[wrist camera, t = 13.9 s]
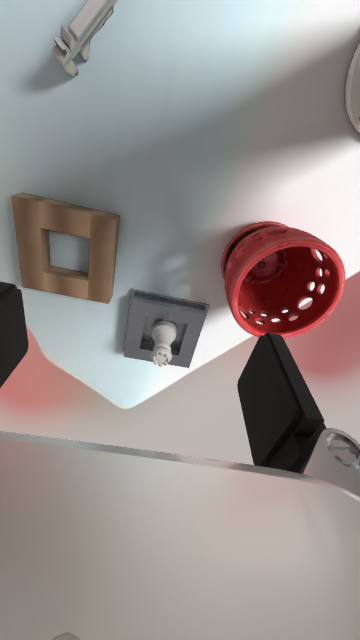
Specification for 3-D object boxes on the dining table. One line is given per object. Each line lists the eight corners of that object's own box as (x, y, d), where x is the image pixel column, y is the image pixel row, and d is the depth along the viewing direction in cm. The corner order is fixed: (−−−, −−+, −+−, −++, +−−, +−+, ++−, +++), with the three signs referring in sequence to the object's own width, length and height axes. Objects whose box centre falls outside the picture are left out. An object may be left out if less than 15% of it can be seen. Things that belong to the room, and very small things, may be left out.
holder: (209, 304, 45) (210, 312, 42) (190, 360, 52) (190, 370, 50) (131, 289, 43) (129, 296, 41) (123, 349, 50) (121, 358, 48)
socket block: (119, 215, 37) (115, 219, 35) (112, 296, 44) (108, 303, 42) (21, 192, 35) (11, 195, 33) (30, 280, 42) (22, 287, 40)
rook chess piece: (156, 315, 45) (151, 345, 39) (180, 323, 46) (180, 353, 39) (148, 335, 48) (142, 366, 41) (171, 342, 48) (170, 374, 42)
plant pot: (241, 309, 45) (257, 357, 35) (202, 245, 39) (208, 280, 29) (318, 271, 41) (361, 312, 31) (288, 192, 35) (329, 212, 25)
